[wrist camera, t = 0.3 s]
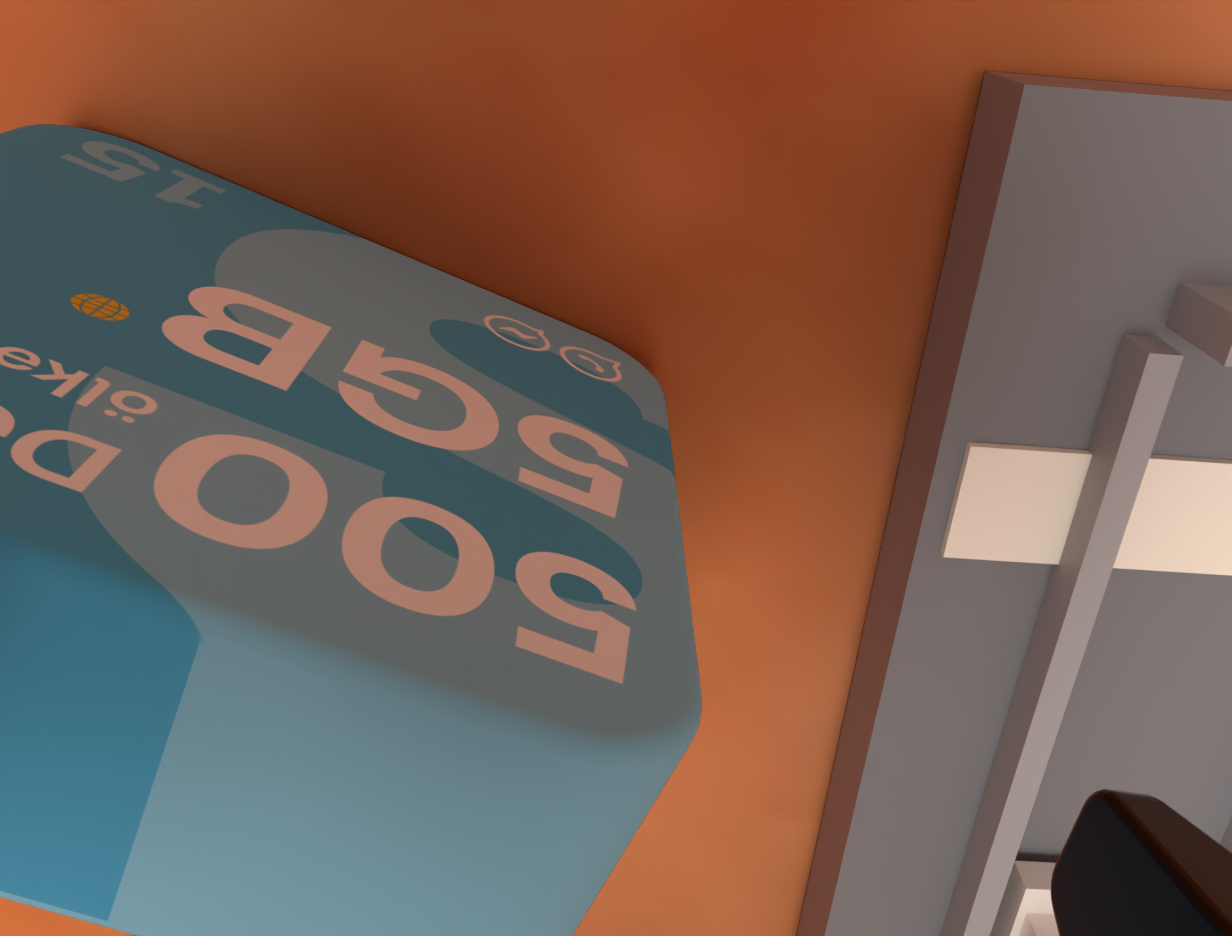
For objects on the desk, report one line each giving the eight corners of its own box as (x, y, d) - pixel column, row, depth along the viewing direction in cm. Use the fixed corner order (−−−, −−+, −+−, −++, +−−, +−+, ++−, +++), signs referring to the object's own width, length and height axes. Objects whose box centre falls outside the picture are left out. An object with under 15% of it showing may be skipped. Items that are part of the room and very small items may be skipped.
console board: (1206, 1005, 30) (1288, 1150, 26) (785, 985, 29) (810, 1130, 26) (1634, 123, 19) (1870, 165, 16) (984, 70, 19) (1074, 100, 15)
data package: (666, 361, 21) (724, 794, 10) (578, 539, 23) (549, 1062, 12) (62, 106, 19) (-656, 323, 8) (17, 326, 21) (-617, 738, 10)
